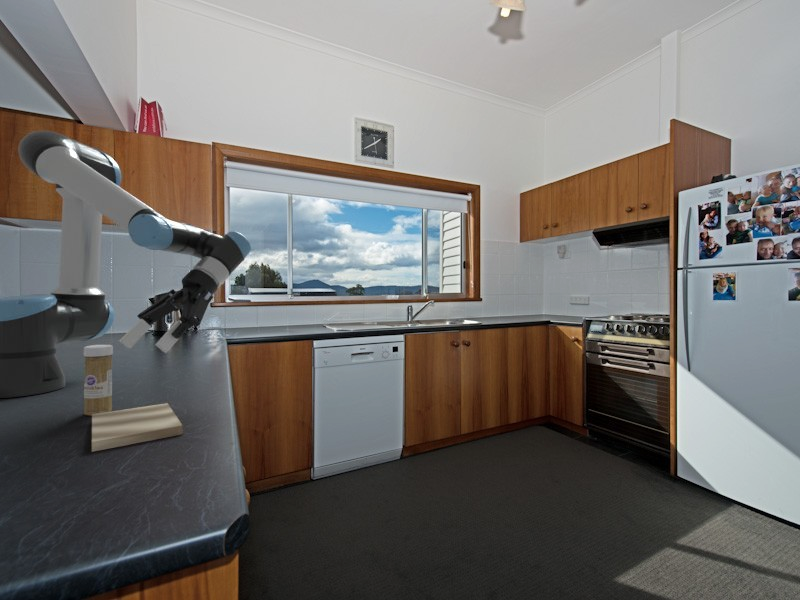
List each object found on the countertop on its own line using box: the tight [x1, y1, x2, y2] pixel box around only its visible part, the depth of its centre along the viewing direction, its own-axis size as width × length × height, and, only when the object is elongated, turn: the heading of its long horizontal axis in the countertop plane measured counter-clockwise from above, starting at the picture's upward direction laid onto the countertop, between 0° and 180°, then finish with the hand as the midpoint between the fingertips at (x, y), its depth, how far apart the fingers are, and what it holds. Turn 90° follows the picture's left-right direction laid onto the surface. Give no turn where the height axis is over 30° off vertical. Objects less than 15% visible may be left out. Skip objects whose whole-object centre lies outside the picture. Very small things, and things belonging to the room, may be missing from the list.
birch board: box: [91, 402, 184, 453], centre depth 68 cm, size 17×12×2 cm
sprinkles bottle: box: [83, 344, 114, 417], centre depth 76 cm, size 5×5×14 cm
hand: (141, 346), depth 82 cm, fingers open, 13 cm apart
